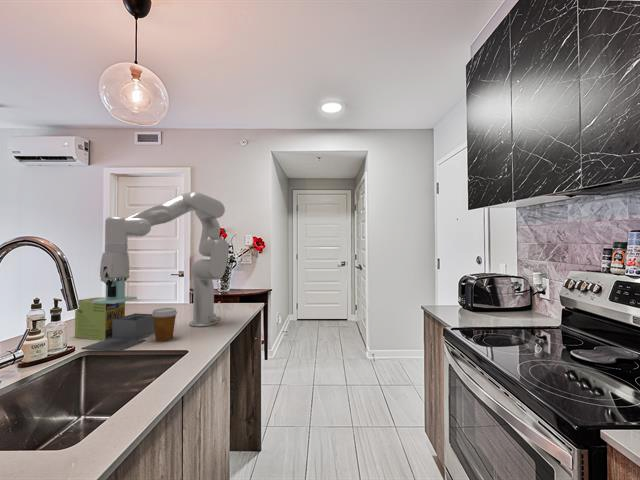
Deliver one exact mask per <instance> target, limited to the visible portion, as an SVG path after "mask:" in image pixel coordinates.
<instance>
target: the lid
mask: <svg viewBox="0 0 640 480" xmlns="http://www.w3.org/2000/svg"><path fill="white" fill-rule="evenodd" d="M110 281H111V282H112V280H110ZM115 286H116V297H108V287H107V286H106V285H105V298H103V299H98V300H93V301H92V303H107V304H115V303H120V302H125V303H126V302H129V301H133V300H138V297H137V296H126V295H125V294H126V281H125V280H116V279H115Z"/></svg>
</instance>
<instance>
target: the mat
mask: <svg viewBox="0 0 640 480" xmlns="http://www.w3.org/2000/svg"><path fill="white" fill-rule="evenodd" d="M146 341H147V339H143V338H140V339H123V338H109V339H106V340H101V341H97V342H95V343H91V344H89V345H85V346H84V347H83V346H82V347H81V350H92V351H94V350H95V351H104V352H118V353H119V352H122V351H124V350H127V349H130V348H132V347H134V346H137V345H139V344H142V343H143V342H146Z"/></svg>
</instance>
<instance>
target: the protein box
mask: <svg viewBox="0 0 640 480" xmlns="http://www.w3.org/2000/svg"><path fill="white" fill-rule="evenodd" d="M103 298H106V296H105V297H103V296H102V297H101V296H100V297H99V296H98V297H92V298H91V297H90V298H85V299H83V298H82V299H79V305H80V308H79V309H77V310H75V309H74V310H75V311H74V312H75V313H74V338H76V339H85V340H86V339H87V340H88V339H90V340H101V341H103V340H106V339H109V338H112V320H113V319H117V318H120V317H124V316H126V301H125V302H120V303H115V304H107V303H92V301H93V300H98V299H103Z"/></svg>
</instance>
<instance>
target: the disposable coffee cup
mask: <svg viewBox="0 0 640 480" xmlns="http://www.w3.org/2000/svg"><path fill="white" fill-rule="evenodd" d="M151 314H152V316H153V322H154V330H155V333H154V335H155V341H156V342H168V341H171V340H173V338H174V333H175V331H174V330H175V324H176V316H177V314H178V311H177V309H176V308H174V307H163V308H157V309H154V310H153V311H152V313H151Z"/></svg>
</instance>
